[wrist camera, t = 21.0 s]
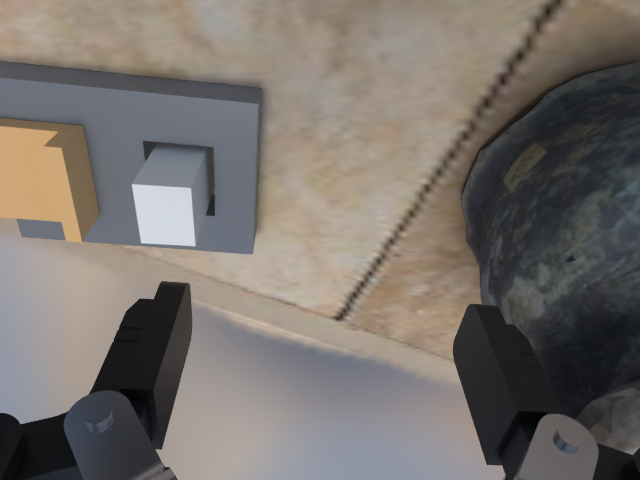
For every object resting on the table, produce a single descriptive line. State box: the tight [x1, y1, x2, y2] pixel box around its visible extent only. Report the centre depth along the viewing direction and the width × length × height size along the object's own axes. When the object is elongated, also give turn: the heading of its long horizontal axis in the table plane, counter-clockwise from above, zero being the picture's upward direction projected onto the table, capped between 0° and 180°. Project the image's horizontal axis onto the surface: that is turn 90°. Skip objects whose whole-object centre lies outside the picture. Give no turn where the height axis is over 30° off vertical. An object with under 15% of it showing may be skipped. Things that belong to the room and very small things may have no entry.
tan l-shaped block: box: [0, 118, 100, 242], centre depth 36 cm, size 8×8×4 cm
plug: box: [132, 142, 214, 246], centre depth 38 cm, size 5×4×9 cm
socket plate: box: [0, 61, 262, 254], centre depth 40 cm, size 14×20×4 cm
